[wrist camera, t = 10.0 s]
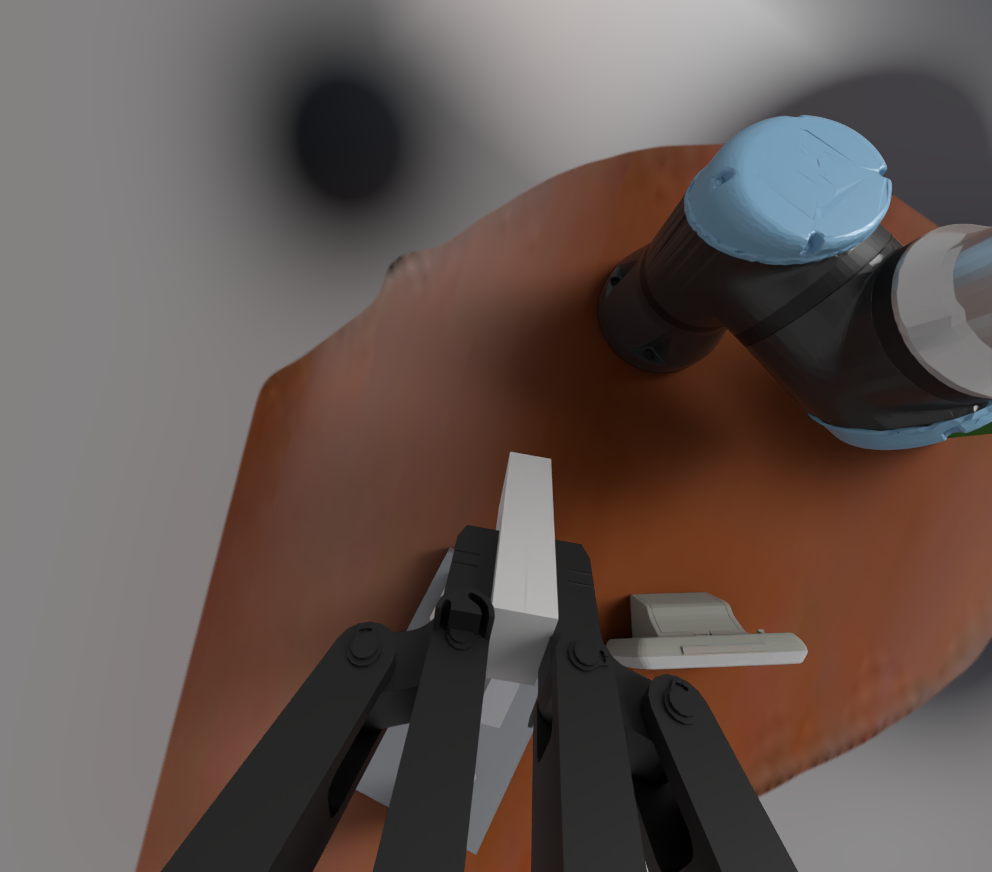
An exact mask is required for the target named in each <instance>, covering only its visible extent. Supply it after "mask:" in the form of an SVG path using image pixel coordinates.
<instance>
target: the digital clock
mask: <svg viewBox="0 0 992 872" xmlns="http://www.w3.org/2000/svg"><path fill="white" fill-rule="evenodd" d="M630 603H631V622H632V638H626V639H610V640H609V641H608V642H607V644H606V647H607V649H608V650H609V651H610V654H611V655H612V656H613V657H614V658H615V659H616V660H617V661H618V662H619V663H620V664H622V665H623V666H625V667H631V668H638V669H650V670H655V669H680V668H705V667H731V666H756V665H781V664H793V663H802V662H803V660H804V658H805V656H806V654H807V652H808V651H807V648H806V646H805V644H804V643H803V641H801V640H800V639H799V638H798V637H797V636H795V635H794V634H793V633H765V632H764V630H763V629H760V630H757V633H758V634H748V633H747V632H745V630H744V629H743V628H742V627H741V626H740V624H739V623H738V621H737V620H736V619H735V617H734V615H733V613H732V610H731V608H730V606H729V604H728V603H726V602H725V601H723V600H721V599H719V598H717V597H715V596H713V595H710V594H708V593H706V592H697V593H665V594H632V595H630ZM697 645H701V646H697Z"/></svg>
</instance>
